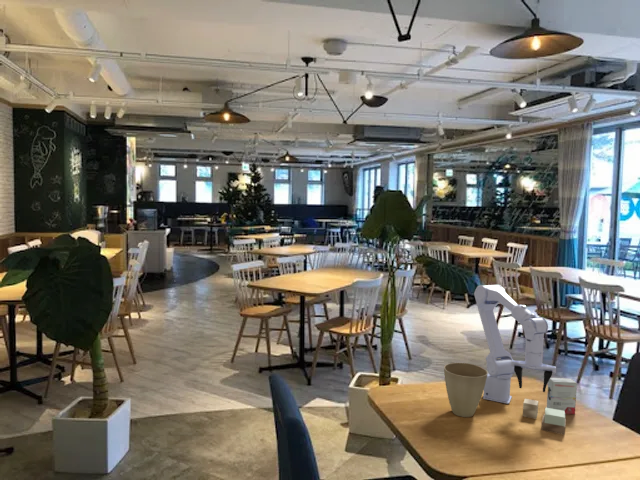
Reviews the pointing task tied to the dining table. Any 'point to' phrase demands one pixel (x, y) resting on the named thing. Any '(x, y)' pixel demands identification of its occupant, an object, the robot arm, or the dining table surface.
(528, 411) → the maple block
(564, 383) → the ink box
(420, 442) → the dining table surface
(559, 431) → the walnut base block
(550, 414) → the sage top block
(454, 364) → the plant pot
